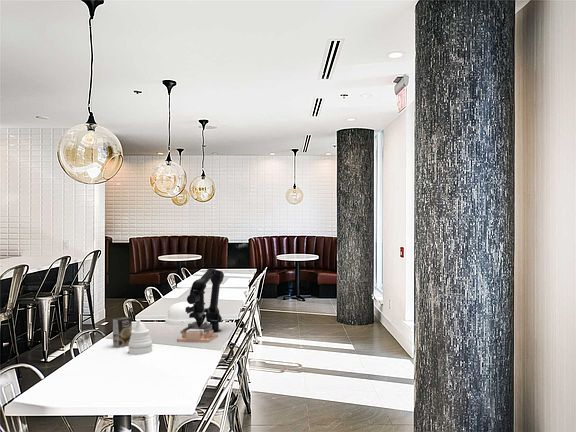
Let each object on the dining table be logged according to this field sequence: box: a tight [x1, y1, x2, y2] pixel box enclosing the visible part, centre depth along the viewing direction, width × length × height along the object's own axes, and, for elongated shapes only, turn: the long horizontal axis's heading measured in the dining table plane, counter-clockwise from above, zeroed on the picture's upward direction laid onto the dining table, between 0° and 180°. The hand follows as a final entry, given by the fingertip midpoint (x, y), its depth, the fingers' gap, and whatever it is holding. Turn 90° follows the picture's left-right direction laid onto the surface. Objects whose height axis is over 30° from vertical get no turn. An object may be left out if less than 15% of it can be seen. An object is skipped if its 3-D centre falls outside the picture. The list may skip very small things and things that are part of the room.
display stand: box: [176, 329, 219, 343], centre depth 341 cm, size 16×20×6 cm
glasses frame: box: [182, 322, 212, 333], centre depth 341 cm, size 10×15×4 cm
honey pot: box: [128, 319, 153, 356], centre depth 312 cm, size 13×13×18 cm
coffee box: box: [112, 316, 133, 349], centre depth 328 cm, size 9×6×16 cm
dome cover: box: [164, 300, 207, 327], centre depth 399 cm, size 32×30×14 cm
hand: (200, 326), depth 345 cm, fingers closed on glasses frame, 2 cm apart
